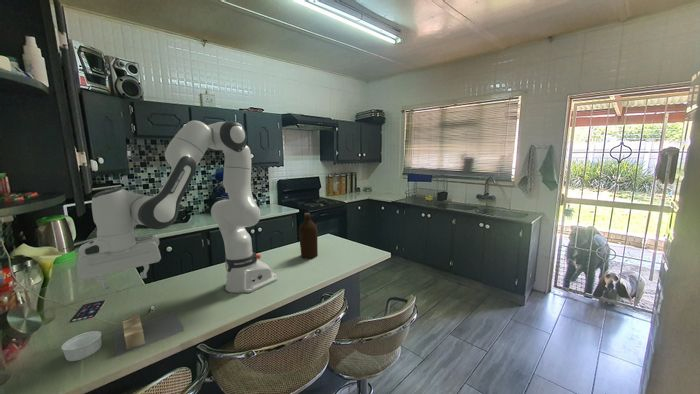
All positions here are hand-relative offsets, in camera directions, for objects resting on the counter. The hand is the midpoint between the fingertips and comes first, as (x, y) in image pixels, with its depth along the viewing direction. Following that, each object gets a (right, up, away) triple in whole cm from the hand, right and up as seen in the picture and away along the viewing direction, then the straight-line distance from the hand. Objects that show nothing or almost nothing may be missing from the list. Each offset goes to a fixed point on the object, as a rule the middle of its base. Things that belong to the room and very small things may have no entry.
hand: (125, 282), depth 89 cm
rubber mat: (+3, -19, +5) cm, 20 cm away
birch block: (+5, -17, -2) cm, 18 cm away
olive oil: (+48, -7, +72) cm, 87 cm away
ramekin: (-10, -21, -3) cm, 23 cm away
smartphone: (-31, -18, +20) cm, 41 cm away
